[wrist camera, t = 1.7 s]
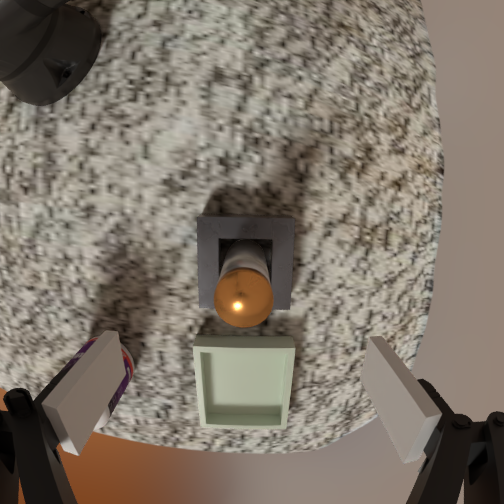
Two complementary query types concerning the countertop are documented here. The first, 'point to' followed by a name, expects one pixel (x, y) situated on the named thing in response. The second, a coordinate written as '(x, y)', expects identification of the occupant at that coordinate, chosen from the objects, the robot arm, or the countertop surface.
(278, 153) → the countertop surface
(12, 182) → the countertop surface
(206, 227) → the socket block
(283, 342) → the tray
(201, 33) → the countertop surface
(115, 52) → the countertop surface
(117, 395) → the pill bottle
